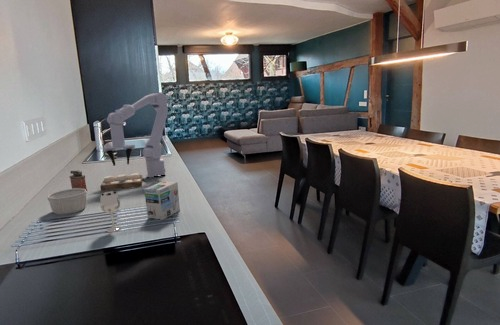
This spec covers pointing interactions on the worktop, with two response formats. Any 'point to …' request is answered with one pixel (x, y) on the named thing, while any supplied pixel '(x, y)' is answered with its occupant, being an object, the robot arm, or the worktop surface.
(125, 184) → the button board
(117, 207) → the wineglass
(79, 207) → the ramekin
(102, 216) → the worktop surface
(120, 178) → the key
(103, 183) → the pattern card
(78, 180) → the lighter
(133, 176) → the key
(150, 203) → the light bulb box
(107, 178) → the key
